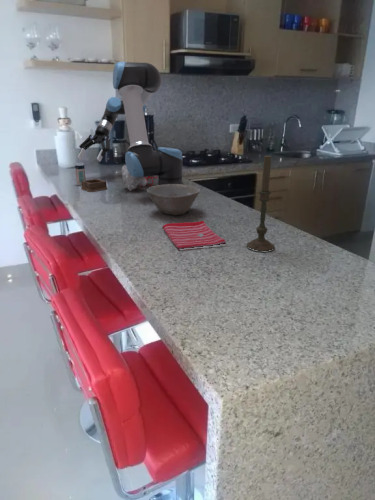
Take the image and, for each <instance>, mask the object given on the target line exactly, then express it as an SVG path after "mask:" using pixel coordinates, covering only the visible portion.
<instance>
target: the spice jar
mask: <svg viewBox="0 0 375 500" xmlns="http://www.w3.org/2000/svg"><path fill="white" fill-rule="evenodd" d="M74 167H75V179H76V185H77V186H80V187H82V184H81V181H85V180H87V179H86V170H85V163H84V162H76V163H75V164H74Z"/></svg>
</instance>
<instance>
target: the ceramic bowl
mask: <svg viewBox="0 0 375 500" xmlns="http://www.w3.org/2000/svg"><path fill="white" fill-rule="evenodd" d="M146 192H147V194H148V196H149V198H150V199H151V201H152V203H153V204H154V206H155V207H156V208H157V209H158V211H160V212H161V213H164V214H166V215H171V216H181V214H182V215H184V214H185V213H186V212H187V211H188V210H190V209H191V207H192V206H193V204H194V202H195V201H196V198H197V197H198V195H199V194H200V193H201V189H200V188H199V187H196V186H194V185H189V184H183V185H182V184H172V185H171V184H167V185H166V184H164V185H157V184H156V185H152V186H151V187H150V186H149V187H148V188H146Z"/></svg>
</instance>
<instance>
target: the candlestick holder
mask: <svg viewBox="0 0 375 500" xmlns="http://www.w3.org/2000/svg"><path fill="white" fill-rule="evenodd" d="M262 168H263V169H262V180H261V189H260V190H258V194H259V197H258V200H259V201H260V202H261V204H260V208H259V210H260V218H259V221H260V223H259V225H258V226H257V227H256V228H255V229H256V233H257V234H258V236H257V238H255V239H253V240H251V241H248V242H247V243H246V245H247V246H246V248H247V247H249V248H251V249H254V250H258V251H269V250H272V249H274V248H275V249H276V247H275V244H273V243H272V242H270V241H269V240H268V239H266V238H265V235H266V234H267V231H268V228H267V227H266V224H265V221H266V214H267V211H268V208H267V207H268V205H267V202H269V201H270V198H271V197H270V195H271V194H272V191H271V190H270V181H271V180H270V178H271V168H272V156H271V155H264V156H263V167H262ZM275 249H274V250H275ZM272 251H273V250H272Z"/></svg>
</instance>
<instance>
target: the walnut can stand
mask: <svg viewBox="0 0 375 500" xmlns="http://www.w3.org/2000/svg"><path fill="white" fill-rule="evenodd" d="M81 184H82V186H80V189H81V190H83V191H85V192H89V193H91V192H92V193H93V192H99V191H106V190H108V186H107V181H105V180H102V179H99V178H93V179H88V180H87V179H86V180H85V181H81Z"/></svg>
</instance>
